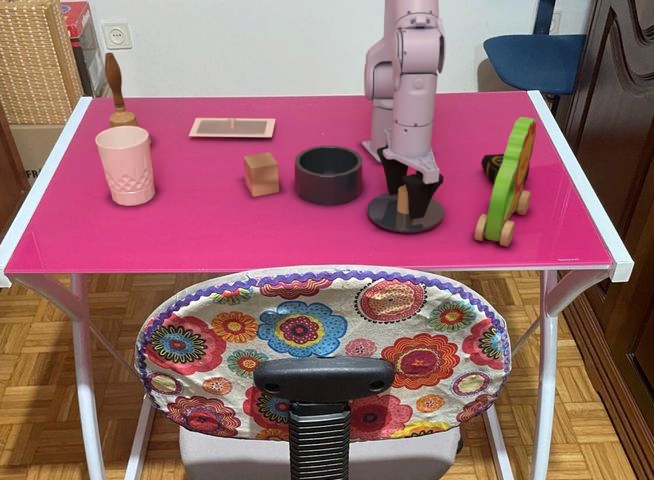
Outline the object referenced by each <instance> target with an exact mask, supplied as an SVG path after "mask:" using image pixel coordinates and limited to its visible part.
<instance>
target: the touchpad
mask: <svg viewBox="0 0 654 480" xmlns="http://www.w3.org/2000/svg"><path fill="white" fill-rule="evenodd" d="M275 124H276V118H247V117H246V118H241V117H239V118H237V117H233V118H232V117H231V118H230V117H229V118H228V117H195V120H194V121H193V125H192V127H191V129H190V132H189V134H188V137H211V138H212V137H213V138H214V137H215V138H217V137H219V138H223V137H224V138H225V137H227V138H272V137H273V134H274V129H275Z"/></svg>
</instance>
